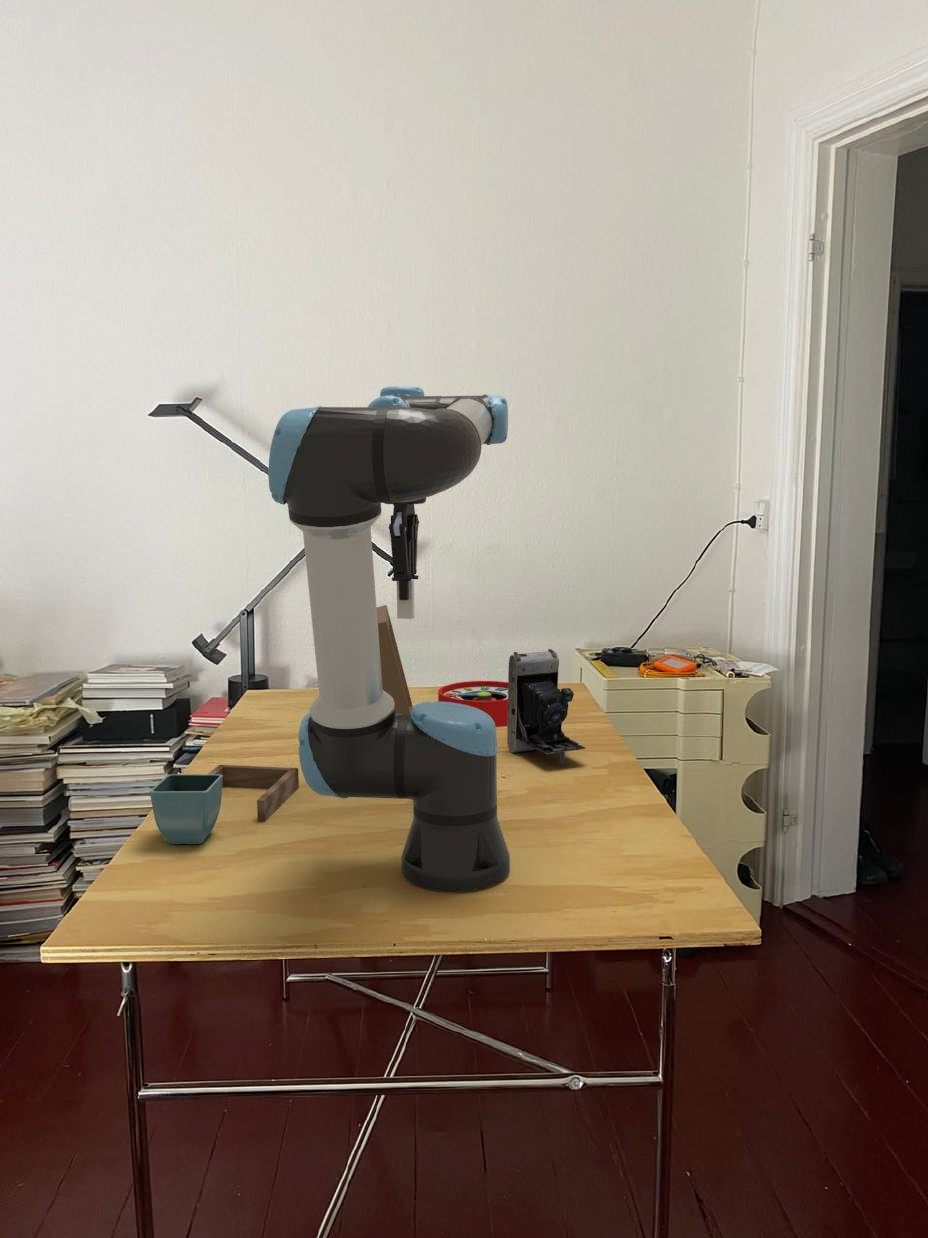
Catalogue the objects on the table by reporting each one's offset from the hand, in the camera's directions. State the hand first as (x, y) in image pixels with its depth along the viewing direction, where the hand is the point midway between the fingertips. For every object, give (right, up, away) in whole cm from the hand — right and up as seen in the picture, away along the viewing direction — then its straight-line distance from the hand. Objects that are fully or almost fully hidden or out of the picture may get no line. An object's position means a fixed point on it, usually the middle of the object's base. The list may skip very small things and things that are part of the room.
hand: (405, 617), depth 184 cm
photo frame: (-7, -24, +38) cm, 46 cm away
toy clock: (+14, -22, +50) cm, 57 cm away
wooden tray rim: (-27, -31, -5) cm, 42 cm away
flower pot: (-32, -34, -22) cm, 51 cm away
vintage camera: (+26, -27, +19) cm, 42 cm away
